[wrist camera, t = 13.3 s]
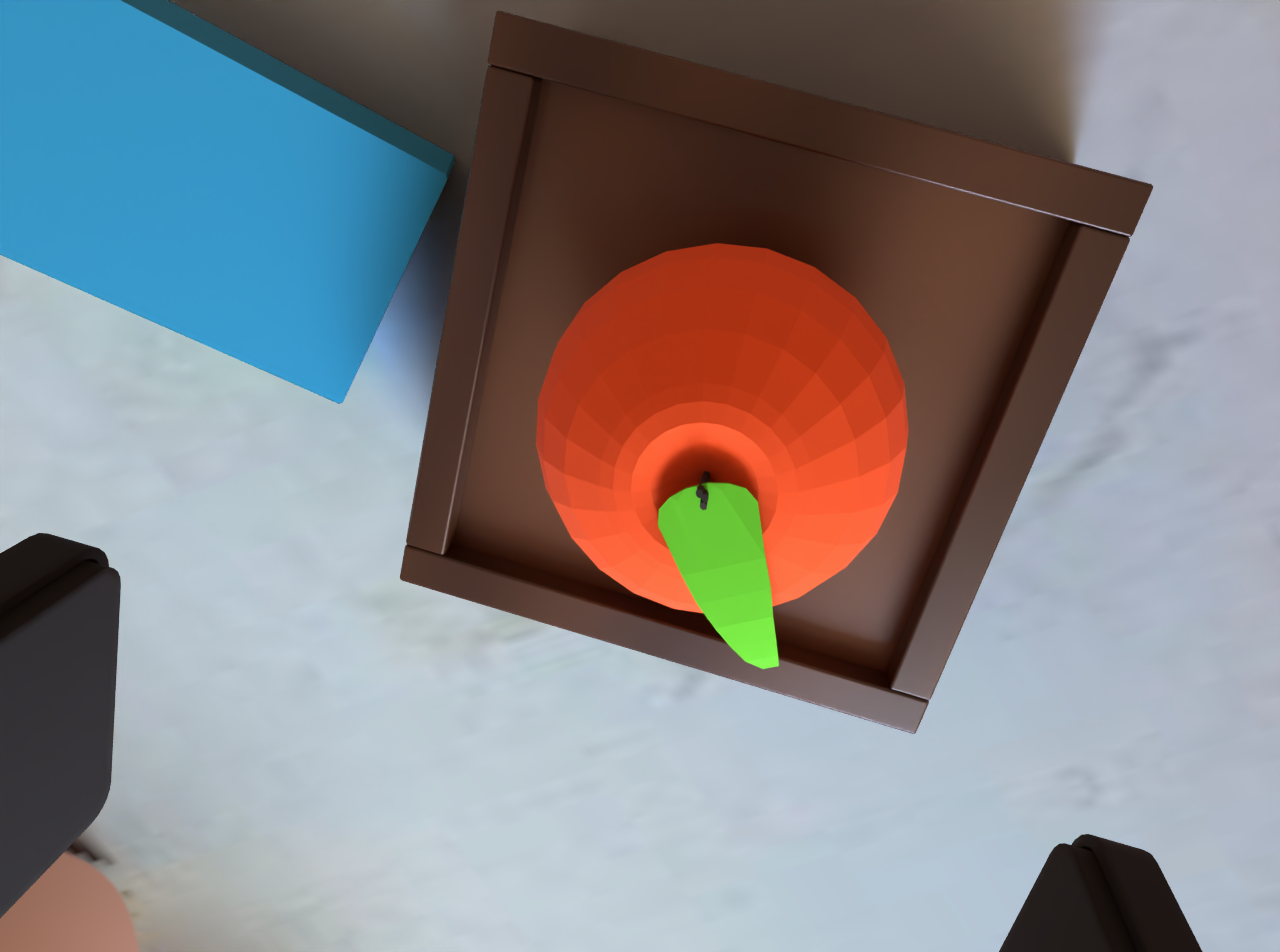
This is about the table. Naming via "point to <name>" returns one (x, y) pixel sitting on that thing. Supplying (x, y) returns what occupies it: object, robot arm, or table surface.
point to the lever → (205, 184)
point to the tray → (803, 230)
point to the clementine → (723, 434)
